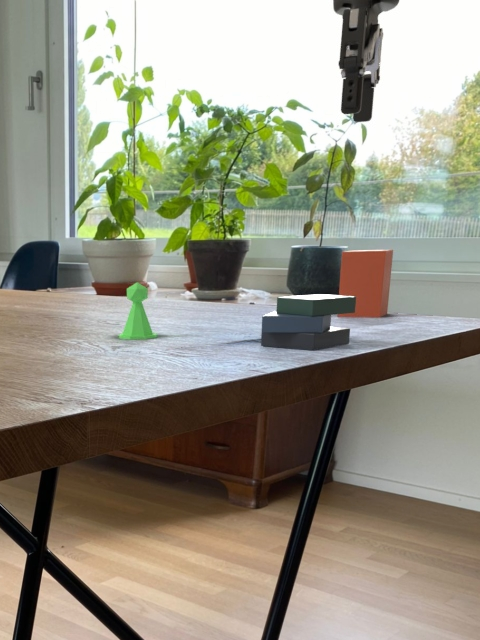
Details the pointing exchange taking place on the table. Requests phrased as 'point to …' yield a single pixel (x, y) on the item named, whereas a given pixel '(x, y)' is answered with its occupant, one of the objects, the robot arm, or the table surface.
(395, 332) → the table surface
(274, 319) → the block pile
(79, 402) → the table surface
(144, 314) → the game piece
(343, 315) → the tall orange pillar
